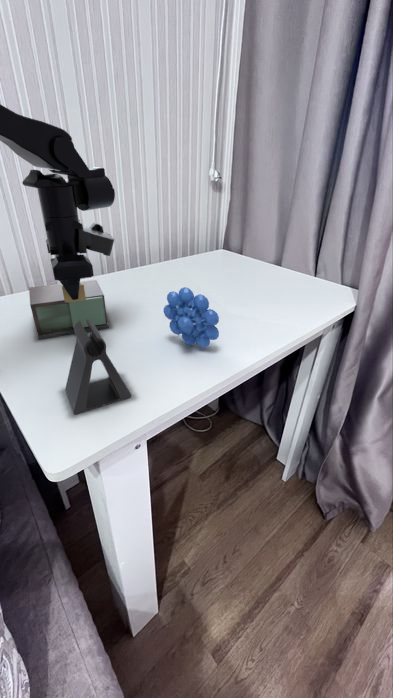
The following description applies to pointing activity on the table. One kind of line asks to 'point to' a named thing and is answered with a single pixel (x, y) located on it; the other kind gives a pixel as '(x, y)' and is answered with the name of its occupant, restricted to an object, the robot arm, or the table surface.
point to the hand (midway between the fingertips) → (74, 298)
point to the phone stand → (78, 382)
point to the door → (85, 308)
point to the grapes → (191, 317)
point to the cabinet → (58, 309)
